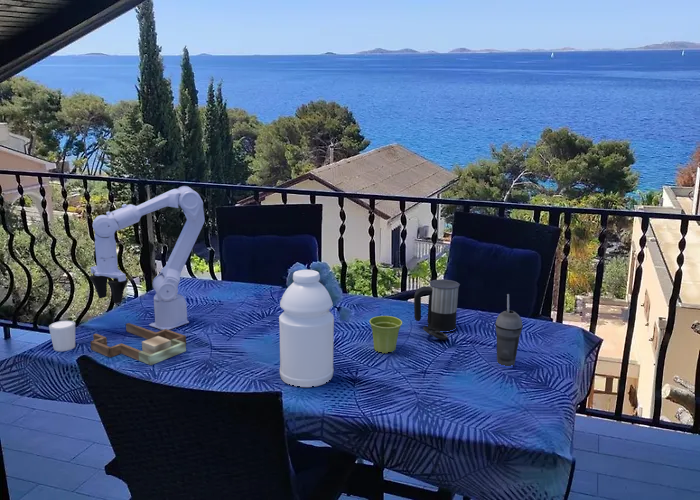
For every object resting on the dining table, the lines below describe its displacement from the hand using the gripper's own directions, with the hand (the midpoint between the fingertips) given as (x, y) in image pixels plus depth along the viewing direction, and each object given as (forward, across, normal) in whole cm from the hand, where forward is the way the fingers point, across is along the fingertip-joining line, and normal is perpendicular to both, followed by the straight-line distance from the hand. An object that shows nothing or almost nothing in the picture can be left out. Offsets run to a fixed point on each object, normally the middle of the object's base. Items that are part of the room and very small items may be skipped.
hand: (110, 300), depth 187 cm
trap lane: (+10, +14, -2) cm, 18 cm away
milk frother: (+11, +79, +61) cm, 100 cm away
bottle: (+11, +66, +12) cm, 68 cm away
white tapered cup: (+11, -1, -15) cm, 18 cm away
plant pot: (+11, +73, +39) cm, 83 cm away
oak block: (+11, +24, -2) cm, 26 cm away
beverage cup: (+11, +105, +50) cm, 117 cm away
